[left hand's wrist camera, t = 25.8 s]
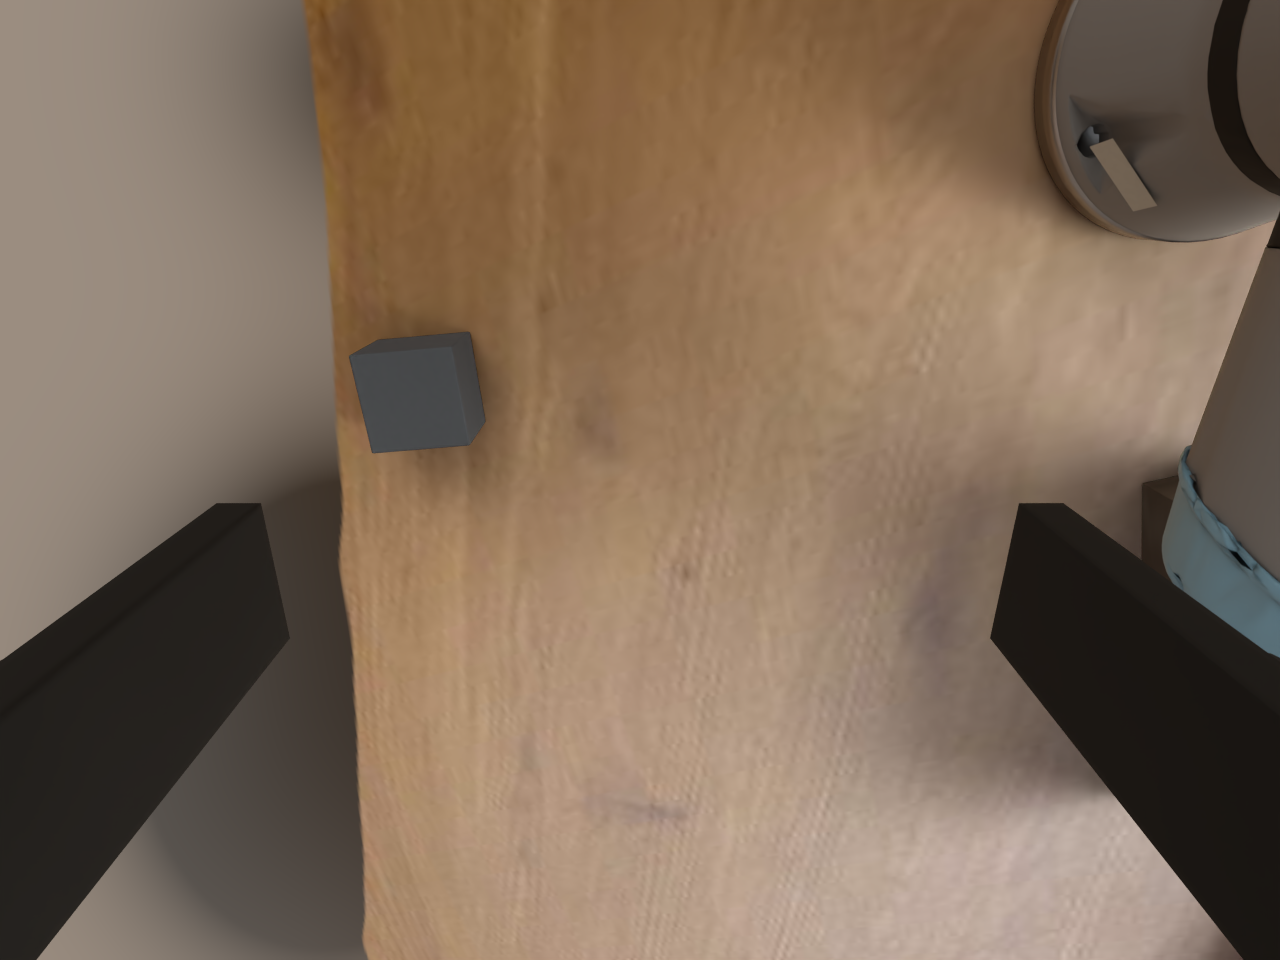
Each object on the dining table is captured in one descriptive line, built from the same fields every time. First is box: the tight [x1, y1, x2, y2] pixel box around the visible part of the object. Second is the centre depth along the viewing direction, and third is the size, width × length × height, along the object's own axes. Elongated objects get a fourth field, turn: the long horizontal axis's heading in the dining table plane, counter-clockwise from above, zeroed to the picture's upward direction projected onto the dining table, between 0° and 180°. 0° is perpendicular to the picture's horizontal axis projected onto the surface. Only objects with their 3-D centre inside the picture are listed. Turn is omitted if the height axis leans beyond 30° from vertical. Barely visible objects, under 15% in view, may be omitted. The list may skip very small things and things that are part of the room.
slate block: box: [349, 332, 485, 453], centre depth 37 cm, size 5×5×4 cm
